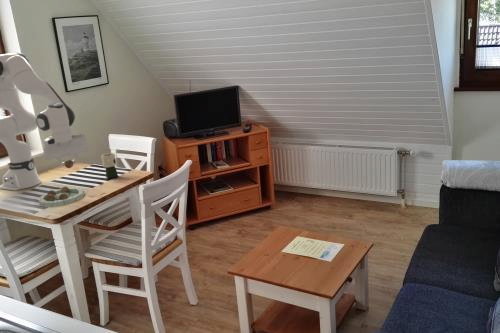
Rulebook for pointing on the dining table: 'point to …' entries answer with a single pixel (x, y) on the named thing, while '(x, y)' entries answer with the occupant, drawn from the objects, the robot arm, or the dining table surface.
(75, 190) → the groove tray
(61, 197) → the seated bead
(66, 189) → the bead
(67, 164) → the bead
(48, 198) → the seated bead
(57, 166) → the dining table surface
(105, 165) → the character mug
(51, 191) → the seated bead
